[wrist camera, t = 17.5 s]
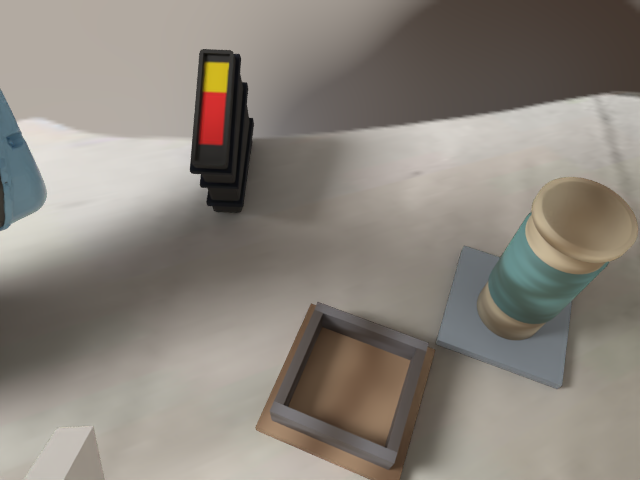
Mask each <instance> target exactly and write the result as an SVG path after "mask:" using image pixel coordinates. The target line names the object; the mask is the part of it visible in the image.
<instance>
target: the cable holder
mask: <svg viewBox="0 0 640 480" xmlns="http://www.w3.org/2000/svg"><path fill="white" fill-rule="evenodd" d="M428 344H429V343H428V342H425V341H422V340H419V339H417V338H414V337H411V336H409V335H406V334H403V333H401V332H398V331H395V330H392V329H390V328H387V327H384V326H382V325H379V324H376V323H374V322H371V321H368V320H365V319H363V318H360V317H357V316H355V315H352V314H349V313H347V312H344V311H341V310H338V309H336V308H333V307H330V306H328V305H325V304H322V303H319V302H318V303H317V305H314V304H311V305H310V307H309V309H308V312H307V314H306V316H305V318H304V321H303V323H302V325H301V327H300V329H299V332H298V334H297V336H296V338H295V341H294V343H293V345H292V347H291V349H290V352H289V354H288V356H287V358H286V361H285V363H284V365H283V367H282V369H281V372H280V374H279V376H278V378H277V381H276V383H275V385H274V387H273V389H272V392H271V394H270V396H269V398H268V401H267V403H266V405H265V407H264V409H263V412H262V414H261V416H260V418H259V421H258V423H257V425H256V427H255V428H256V430H257V431H259V432H262V433H264V434H266V435H268V436H271V437H273V438H275V439H278V440H280V441H282V442H285V443H287V444H289V445H292V446H294V447H296V448H299V449H301V450H303V451H306V452H308V453H310V454H312V455H315V456H317V457H319V458H322V459H324V460H326V461H329V462H331V463H333V464H336V465H338V466H340V467H343V468H345V469H347V470H349V471H352V472H354V473H356V474H359V475H361V476H363V477H366V478H368V479H370V480H400V476H401V473H402V469H403V465H404V462H405V458H406V454H407V451H408V447H409V444H410V440H411V436H412V433H413V429H414V425H415V422H416V418H417V415H418V411H419V407H420V404H421V400H422V396H423V393H424V389H425V386H426V382H427V378H428V375H429V371H430V367H431V364H432V360H433V357H434V353H435V349H432V348H429V347H428Z"/></svg>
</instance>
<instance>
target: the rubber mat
mask: <svg viewBox="0 0 640 480" xmlns="http://www.w3.org/2000/svg"><path fill="white" fill-rule="evenodd" d="M499 259H500V257H497V256H494V255H491V254H488V253H485V252H482V251H479V250H476V249H473V248H470V247H467V246H464V247H463V249H462V251H461V254H460V258H459V262H458V265H457V269H456V272H455V276H454V280H453V283H452V287H451V290H450V294H449V298H448V301H447V305H446V308H445V312H444V316H443V319H442V323H441V326H440V330H439V334H438V337H437V341H436V344H437V345H440V346H442V347H445V348H448V349H450V350H453V351H456V352H459V353H461V354H464V355H467V356H469V357H472V358H475V359H477V360H480V361H483V362H486V363H488V364H491V365H494V366H496V367H499V368H502V369H505V370H507V371H510V372H513V373H515V374H518V375H521V376H524V377H526V378H529V379H532V380H534V381H537V382H540V383H542V384H545V385H548V386H551V387H553V388H556V389H558V388H559V387H560V386H562V381H563V373H564V364H565V356H566V348H567V339H568V331H569V322H570V314H571V305H572V301H571V302H570V303H569V304H568V305H567V306H566V307H565V308H564V309H563V310H562V311H561V312H560V313H559V314H558V315H557V316H556V317H555V318H553V319H552V320H550V321H548V322H546V323H545V324H544V325H543V326H542V327H541V328H540V329H539V330H538V331H537V332H536V333H535V334H534V335H533V336H531V337H529V338H527V339H524V340H509V339H505V338H502V337H500V336H498V335H496V334H494V333H493V332H492V331H490V330H489V329H488V328H487V327H486V326H485V325H484V323H483V322H482V320H481V319H480V316H479V314H478V311H477V299H478V296H479V294H480V292H481V291H482V289H483V288H484V286H485V285H486V283H487V282H488V280H489V276H490V273H491V271H492V270H493V268H494V267H495V265H496V263H497V262H498V260H499Z"/></svg>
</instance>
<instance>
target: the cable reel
mask: <svg viewBox="0 0 640 480" xmlns="http://www.w3.org/2000/svg"><path fill="white" fill-rule="evenodd" d="M637 234H638V224H637V220H636V217H635V215H634V213H633V211H632V210H631V208H630V207H629V205H628V204H627V203H626V202H625V201H624V200H623V199H622V198H621V197H620V196H619V195H618V194H616V193H615V192H614V191H612V190H611V189H609V188H607V187H606V186H604V185H602V184H599V183H597V182H594V181H592V180H588V179H584V178H578V177H564V178H559V179H555V180H553V181H550V182H549V183H547V184H546V185H545V186H543V187H542V189H541V190H540V191H539V193H538V194H537V196H536V198H535V199H534V201H533V204H532V210H531V213H529V214H528V216H527V217H526V218H525V220H524V222H523V223H522V225H521V226H520V228H519V229H518V231H517V232H516V234H515V235H514V237H513V239H512V240H511V242H510V243H509V245H508V246H507V248H506V249H505V251H504V253H503V254H502V256H501V257H500V259H499V260H498V262H497V263H496V265H495V267H494V268H493V270H492V271H491V273H490V276H489V280H488V282H487V283H486V285H485V286H484V288H483V289H482V291H481V292H480V294H479V296H478V299H477V311H478V314H479V316H480V319H481V320H482V322H483V323H484V325H485V326H486V327H487V328H488V329H489V330H490V331H492V332H493V333H494V334H496V335H498V336H500V337H502V338H505V339H509V340H524V339H527V338H529V337H531V336H533V335H534V334H535V333H536V332H537V331H538V330H539V329H540V328H541V327H542V326H543V325H544V324H545V323H546V322H548V321H550V320H552V319H553V318H555V317H556V316H557V315H558V314H559V313H560V312H561V311H562V310H563V309H564V308H565V307H566V306H567V305H568V304H569V303H570V302H571V301H572V300H573V299H574V298H575V297H576V296H577V295H578V294H579V293H580V292H581V291H582V290H583V289H584V288H585V287H586V286H587V285H588V284H589V283H590V282H591V281H592V280H593V279H594V278H595V277H596V276H597V275H598V274H599V273H600V272H601V271H602V270H603V269H604V268H605V267H606V266H607V265H608V263H609V261H612V260H615V259H617V258H619V257H620V256H622V255H623V254H624V253H625V252H626V251H627V250H628V249H629V248H630V247H631V246H632V245H633V244H634V242H635V241H636V238H637Z"/></svg>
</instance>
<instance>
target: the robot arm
mask: <svg viewBox="0 0 640 480" xmlns="http://www.w3.org/2000/svg"><path fill="white" fill-rule="evenodd" d="M46 197H47V190H46V186H45V184H44V181H43V178H42V176H41V174H40V171H39V169H38V167H37V165H36V162H35V160H34V158H33V156H32V154H31V152H30V150H29V148H28V145H27V143H26V142H25V140H24V138H23V136H22V133H21V131H20V129H19V127H18V125H17V122H16V120H15V118H14V116H13V113H12V111H11V109H10V107H9V105H8V103H7V101H6V99H5V97H4V95H3V93H2V91H1V89H0V231H2V230H5V229H7V228H8V227H9V226H10V225H11V224H12V223H14V222H16V221H18V220H20V219H22V218H24V217H26V216H28V215H30V214H32V213H34V212H36V211H38V210H39V209H40V208H41V207H42V206H43V204H44V203H45V201H46ZM23 480H105V479H104V474H103V470H102V465H101V460H100V455H99V451H98V446H97V441H96V436H95V432H94V427H93V426H81V427H60V428H57V429H56V430H55V432H54V433H53V435H52V436H51V438H50V439H49V441H48V442H47V444H46V445H45V447H44V449H43V450H42V452H41V453H40V455H39V456H38V458H37V459H36V461H35V462H34V464H33V466H32V467H31V469H30V470H29V472H28V473H27V475H26V476H25V478H24V479H23Z"/></svg>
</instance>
